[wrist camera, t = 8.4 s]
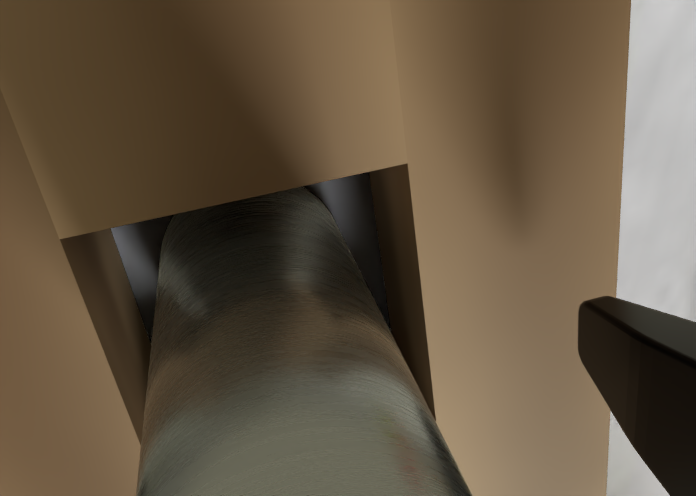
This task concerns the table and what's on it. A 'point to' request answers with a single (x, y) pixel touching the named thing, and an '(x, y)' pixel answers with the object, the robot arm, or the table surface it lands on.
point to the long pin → (279, 366)
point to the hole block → (309, 168)
